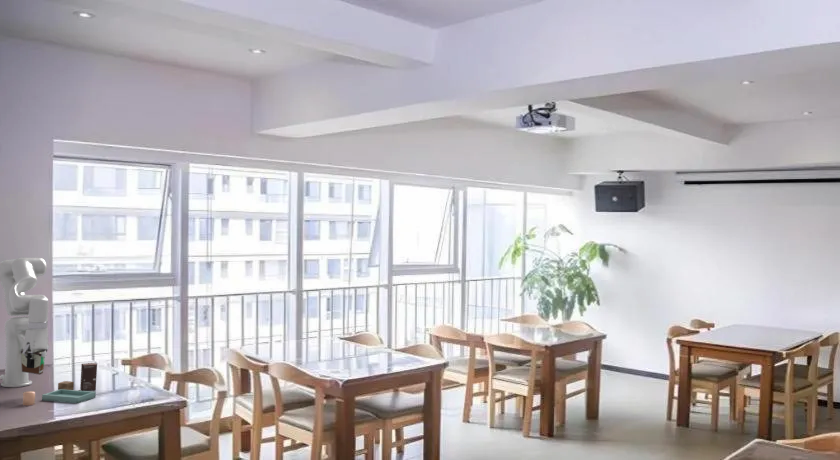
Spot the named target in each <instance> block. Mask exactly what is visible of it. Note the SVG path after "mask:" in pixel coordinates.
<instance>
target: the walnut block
mask: <svg viewBox="0 0 840 460" xmlns="http://www.w3.org/2000/svg"><path fill="white" fill-rule="evenodd" d="M74 383H75V381H69V380H64V381H61V382H60V381H59V382H58V383H57V390H59V389H65V390H74V389H75V388H74V386H75V384H74Z"/></svg>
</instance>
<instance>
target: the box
mask: <svg viewBox="0 0 840 460" xmlns="http://www.w3.org/2000/svg"><path fill="white" fill-rule="evenodd" d="M80 367H81V369H80V387H79V391H96V390H97V374H98V364H97V363H96V362H87V363H81V366H80Z"/></svg>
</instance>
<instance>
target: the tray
mask: <svg viewBox="0 0 840 460" xmlns="http://www.w3.org/2000/svg"><path fill="white" fill-rule="evenodd" d="M96 393H97V392H96V391H91V390H88V391H81V390H77V389H76V390H74V389H73V390H65V389H59V390H58V389H57V390H53V391H49V392H47V393H43V394H41V395H42V396H41V401H46V402H55V403H56V402H58V403H68V404H69V403H70V404H71V403H72V404H80V403H83V402H86V401H89V400H91V399H94V398H96V395H97V394H96Z"/></svg>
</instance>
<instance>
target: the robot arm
mask: <svg viewBox="0 0 840 460" xmlns="http://www.w3.org/2000/svg"><path fill="white" fill-rule="evenodd" d="M47 266H48V265H47V262H46V260H45V259H44V258H42V257H18V258H15V259H5V260H2V261H0V286H1V287H2V289H3V294H4V303H5V311H6V312H7V315H8V316H10V317H11V318H9V319H7V320H5V322H4V332H5V345H6V346H5V347H6V348H5V370H4V371H5V372H4V374H1V375H0V380H2V382H0V386H1V387H4V388H19V387H25V386H26V387H27V386H31V385H32V384H33V381H32V380H31V379H29V374H30V373H25V372H22V368H21V354H20V350H21V349H23V352H22V353H23V354H24V355H25V357H26V359H27V368H34V359H33V358H34V354H35V352H38V351H43V350H44V349H45V350H46V352H48V351H49V349H50V347H51V346H50V345H49V329H48V321H49V306H50V305H49V304H50V302H49V301H50V300H49V298H48V297H47V296H46V295H44V294H26V292H28V291H30V290H32V289H33V288H35V287H36V286H37V284H38V278H37V277H42V276H44V275H45V274H46V273H47V269H48V267H47ZM30 351H31V352H30ZM30 353H32V354H31V355H30Z"/></svg>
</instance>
